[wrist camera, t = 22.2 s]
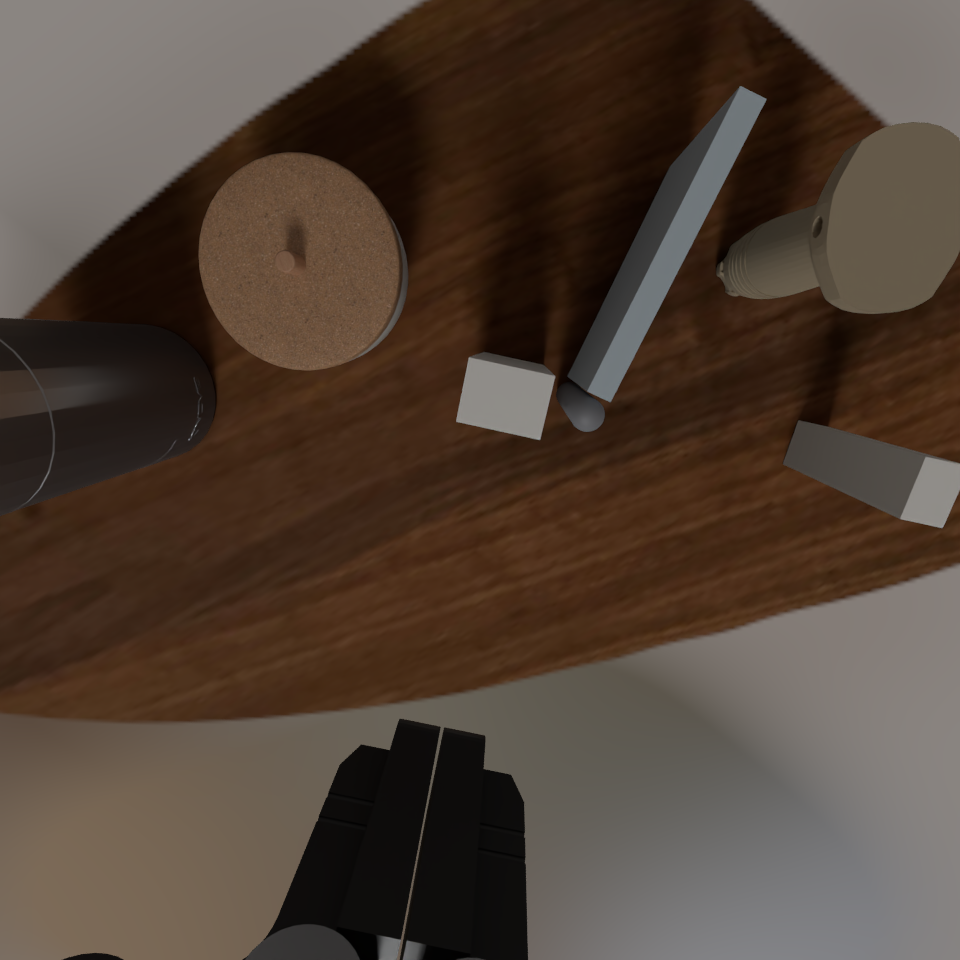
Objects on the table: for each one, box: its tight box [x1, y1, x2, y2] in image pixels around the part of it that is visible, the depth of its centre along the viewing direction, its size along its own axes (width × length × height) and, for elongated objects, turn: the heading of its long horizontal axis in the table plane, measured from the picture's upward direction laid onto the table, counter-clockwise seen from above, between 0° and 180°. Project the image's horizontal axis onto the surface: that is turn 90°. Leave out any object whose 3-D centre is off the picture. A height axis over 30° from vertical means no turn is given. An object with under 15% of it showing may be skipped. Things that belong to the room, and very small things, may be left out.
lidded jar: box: [198, 152, 408, 370], centre depth 32 cm, size 11×11×9 cm
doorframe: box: [456, 352, 960, 528], centre depth 32 cm, size 23×3×12 cm, turn 78°
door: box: [556, 86, 767, 432], centre depth 30 cm, size 15×2×11 cm, turn 156°
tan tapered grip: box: [716, 122, 960, 314], centre depth 28 cm, size 5×6×15 cm
